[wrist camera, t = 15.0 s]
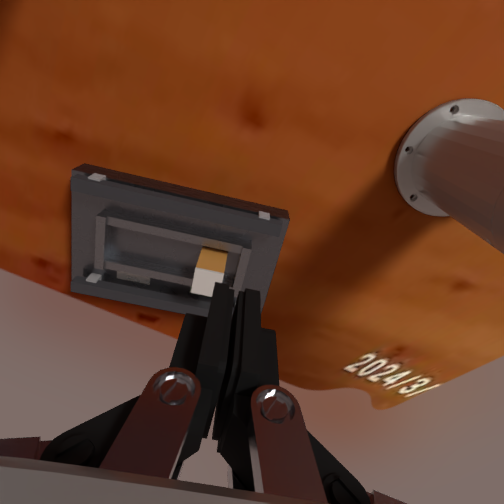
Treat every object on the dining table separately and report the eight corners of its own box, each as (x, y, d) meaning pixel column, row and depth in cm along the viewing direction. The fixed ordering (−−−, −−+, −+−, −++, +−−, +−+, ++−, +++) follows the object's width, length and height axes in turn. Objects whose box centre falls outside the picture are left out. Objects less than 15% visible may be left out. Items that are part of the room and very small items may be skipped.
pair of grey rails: (281, 216, 38) (283, 223, 36) (252, 317, 45) (251, 328, 43) (81, 169, 36) (70, 175, 34) (79, 282, 43) (70, 292, 41)
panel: (287, 210, 41) (291, 226, 37) (259, 304, 47) (259, 327, 43) (84, 163, 39) (62, 174, 35) (82, 267, 45) (63, 288, 41)
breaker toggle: (227, 251, 40) (223, 274, 36) (222, 273, 42) (218, 298, 37) (202, 246, 40) (195, 268, 35) (198, 268, 41) (190, 292, 37)
